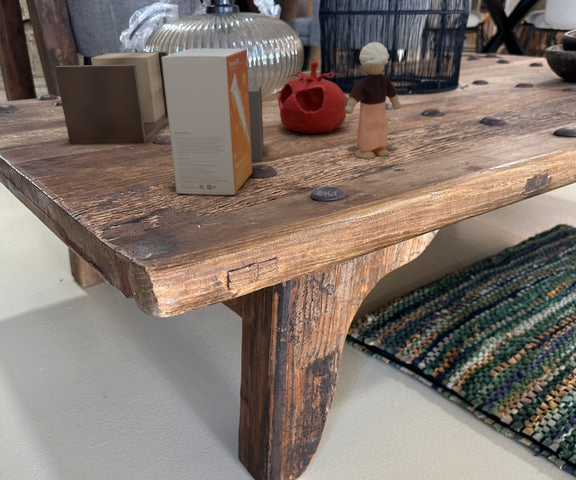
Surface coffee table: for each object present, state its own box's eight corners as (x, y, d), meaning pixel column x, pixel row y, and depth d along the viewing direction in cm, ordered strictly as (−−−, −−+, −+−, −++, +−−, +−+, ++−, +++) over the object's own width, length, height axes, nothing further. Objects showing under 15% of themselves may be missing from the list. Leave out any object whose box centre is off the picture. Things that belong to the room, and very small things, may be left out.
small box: (236, 196, 56) (227, 55, 50) (175, 194, 57) (158, 55, 51) (254, 173, 63) (248, 47, 57) (199, 172, 64) (187, 47, 58)
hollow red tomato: (310, 119, 89) (310, 55, 85) (360, 128, 83) (363, 59, 78) (263, 130, 83) (261, 62, 79) (313, 140, 77) (313, 66, 72)
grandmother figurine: (377, 147, 73) (383, 39, 67) (401, 152, 70) (409, 40, 64) (335, 158, 68) (337, 43, 63) (359, 164, 66) (363, 45, 60)
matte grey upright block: (195, 161, 69) (188, 91, 65) (200, 152, 72) (194, 86, 68) (261, 160, 68) (258, 90, 64) (263, 152, 72) (261, 85, 68)
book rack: (70, 148, 76) (54, 66, 71) (113, 121, 92) (102, 52, 87) (144, 147, 75) (133, 65, 70) (174, 120, 91) (167, 51, 86)
